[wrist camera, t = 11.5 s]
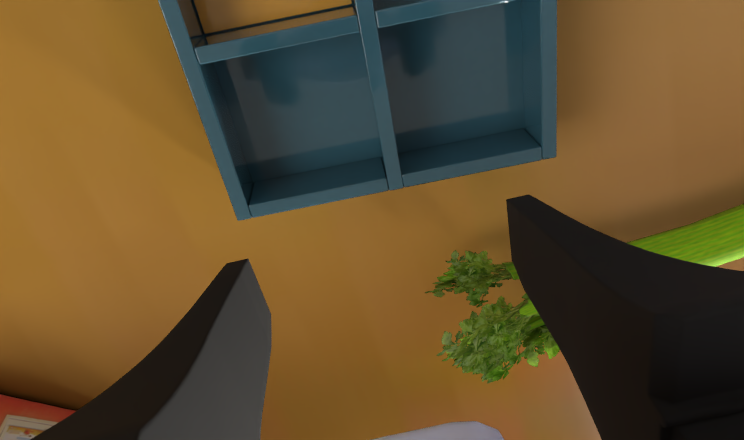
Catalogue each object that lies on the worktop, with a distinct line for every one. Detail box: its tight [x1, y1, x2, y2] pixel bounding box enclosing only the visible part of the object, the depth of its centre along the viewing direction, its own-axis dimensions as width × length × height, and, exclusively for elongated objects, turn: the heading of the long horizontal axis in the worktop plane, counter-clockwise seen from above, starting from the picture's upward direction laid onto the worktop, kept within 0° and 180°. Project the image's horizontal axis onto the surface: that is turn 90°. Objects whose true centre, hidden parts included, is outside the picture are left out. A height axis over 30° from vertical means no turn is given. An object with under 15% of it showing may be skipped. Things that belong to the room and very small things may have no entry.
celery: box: [426, 204, 744, 383], centre depth 25 cm, size 6×7×30 cm
